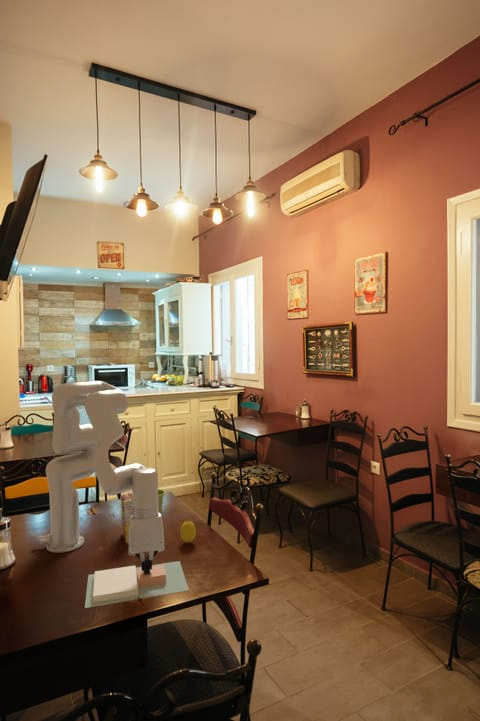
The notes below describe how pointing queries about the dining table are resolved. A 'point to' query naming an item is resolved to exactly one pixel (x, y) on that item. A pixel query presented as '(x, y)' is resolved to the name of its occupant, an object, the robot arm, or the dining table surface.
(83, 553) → the dining table surface
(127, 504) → the candy box
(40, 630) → the dining table surface
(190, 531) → the lemon
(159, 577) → the terracotta tile
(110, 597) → the block
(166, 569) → the rubber mat
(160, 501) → the plant pot
